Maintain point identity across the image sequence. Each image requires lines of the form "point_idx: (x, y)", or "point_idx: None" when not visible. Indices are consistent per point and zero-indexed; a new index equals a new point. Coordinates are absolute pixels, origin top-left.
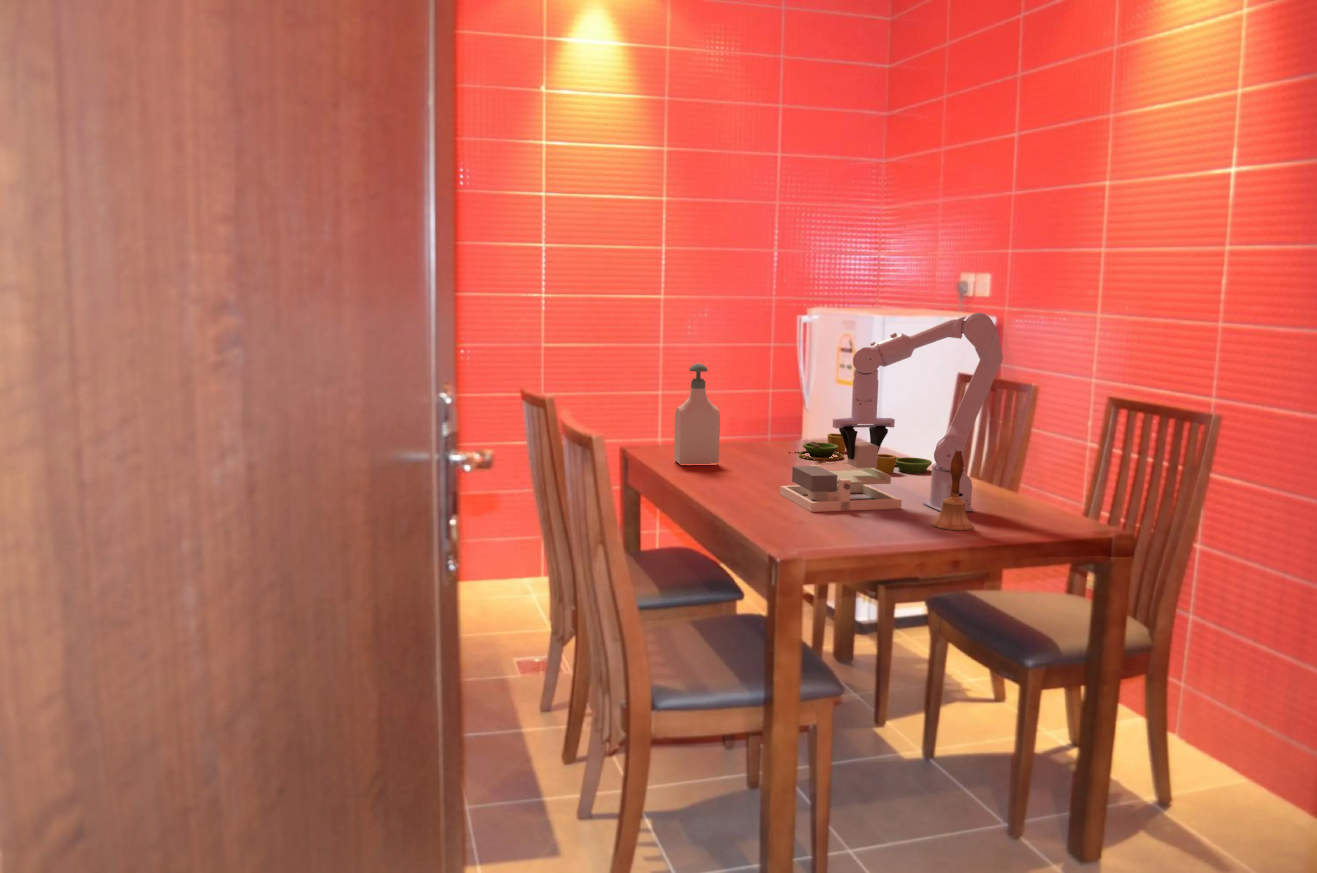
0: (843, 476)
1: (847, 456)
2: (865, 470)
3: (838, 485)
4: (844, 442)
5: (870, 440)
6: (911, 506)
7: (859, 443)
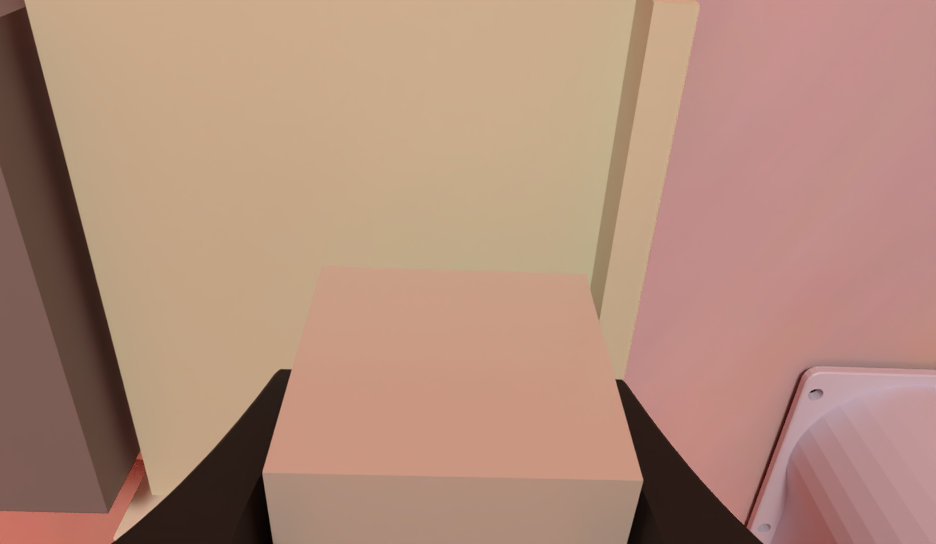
0: (259, 298)
1: (268, 384)
2: (620, 121)
3: (134, 498)
4: (157, 513)
5: (655, 536)
6: (694, 397)
7: (416, 541)
